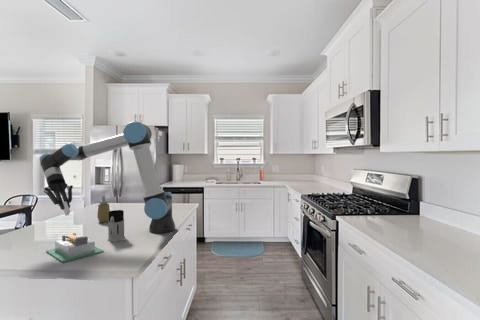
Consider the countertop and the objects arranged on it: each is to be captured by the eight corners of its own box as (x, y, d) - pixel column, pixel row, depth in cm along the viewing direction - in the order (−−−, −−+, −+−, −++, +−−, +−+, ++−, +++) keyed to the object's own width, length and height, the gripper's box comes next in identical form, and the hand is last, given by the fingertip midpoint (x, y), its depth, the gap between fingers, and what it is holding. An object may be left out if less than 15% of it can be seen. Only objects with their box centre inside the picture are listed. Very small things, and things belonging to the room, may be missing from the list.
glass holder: (126, 236, 155) (126, 209, 155) (120, 244, 141) (119, 214, 141) (110, 237, 154) (109, 210, 153) (102, 245, 140) (101, 215, 139)
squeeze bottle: (97, 223, 185) (97, 196, 185) (97, 221, 192) (96, 195, 192) (110, 222, 189) (110, 195, 189) (110, 219, 196) (109, 194, 196)
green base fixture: (46, 251, 131) (45, 235, 130) (84, 242, 144) (84, 227, 143) (62, 263, 116) (62, 244, 116) (103, 252, 130) (103, 235, 129)
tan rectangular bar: (65, 238, 134) (65, 233, 134) (72, 236, 136) (71, 232, 136) (76, 243, 125) (76, 238, 125) (83, 241, 127) (83, 236, 127)
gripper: (66, 181, 151) (80, 216, 141) (38, 183, 141) (50, 221, 131) (70, 172, 148) (84, 206, 137) (41, 173, 137) (54, 211, 127)
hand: (67, 213), depth 134 cm, fingers closed
